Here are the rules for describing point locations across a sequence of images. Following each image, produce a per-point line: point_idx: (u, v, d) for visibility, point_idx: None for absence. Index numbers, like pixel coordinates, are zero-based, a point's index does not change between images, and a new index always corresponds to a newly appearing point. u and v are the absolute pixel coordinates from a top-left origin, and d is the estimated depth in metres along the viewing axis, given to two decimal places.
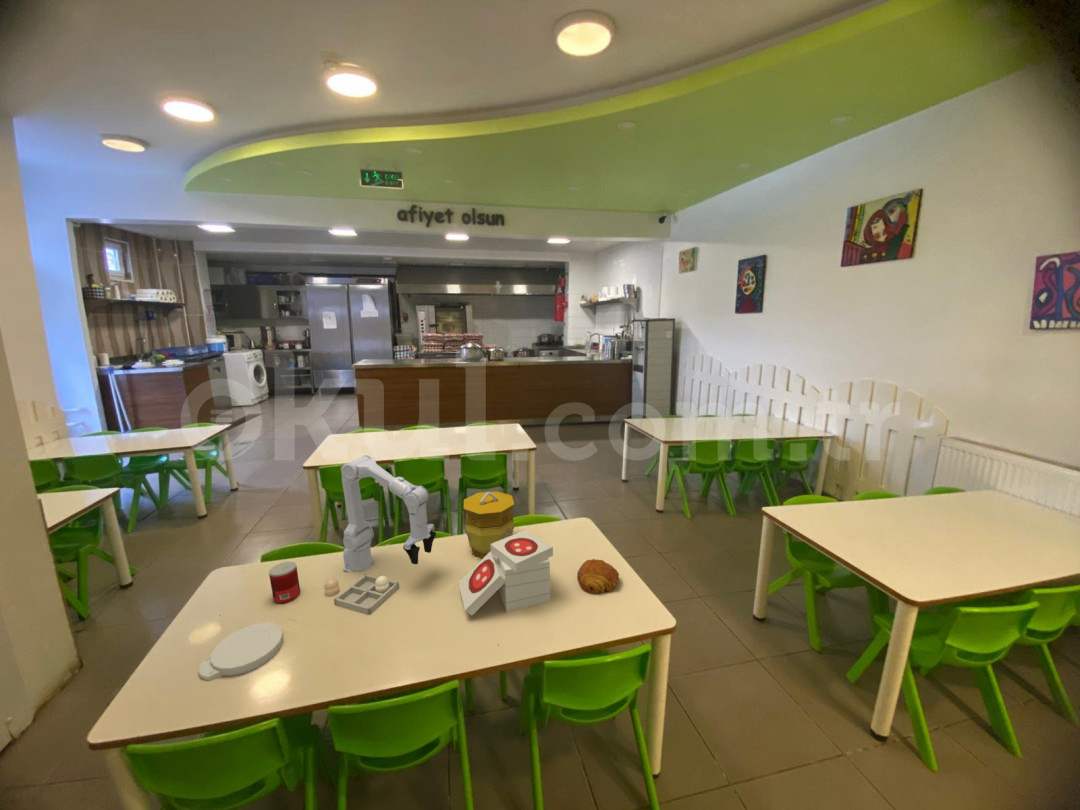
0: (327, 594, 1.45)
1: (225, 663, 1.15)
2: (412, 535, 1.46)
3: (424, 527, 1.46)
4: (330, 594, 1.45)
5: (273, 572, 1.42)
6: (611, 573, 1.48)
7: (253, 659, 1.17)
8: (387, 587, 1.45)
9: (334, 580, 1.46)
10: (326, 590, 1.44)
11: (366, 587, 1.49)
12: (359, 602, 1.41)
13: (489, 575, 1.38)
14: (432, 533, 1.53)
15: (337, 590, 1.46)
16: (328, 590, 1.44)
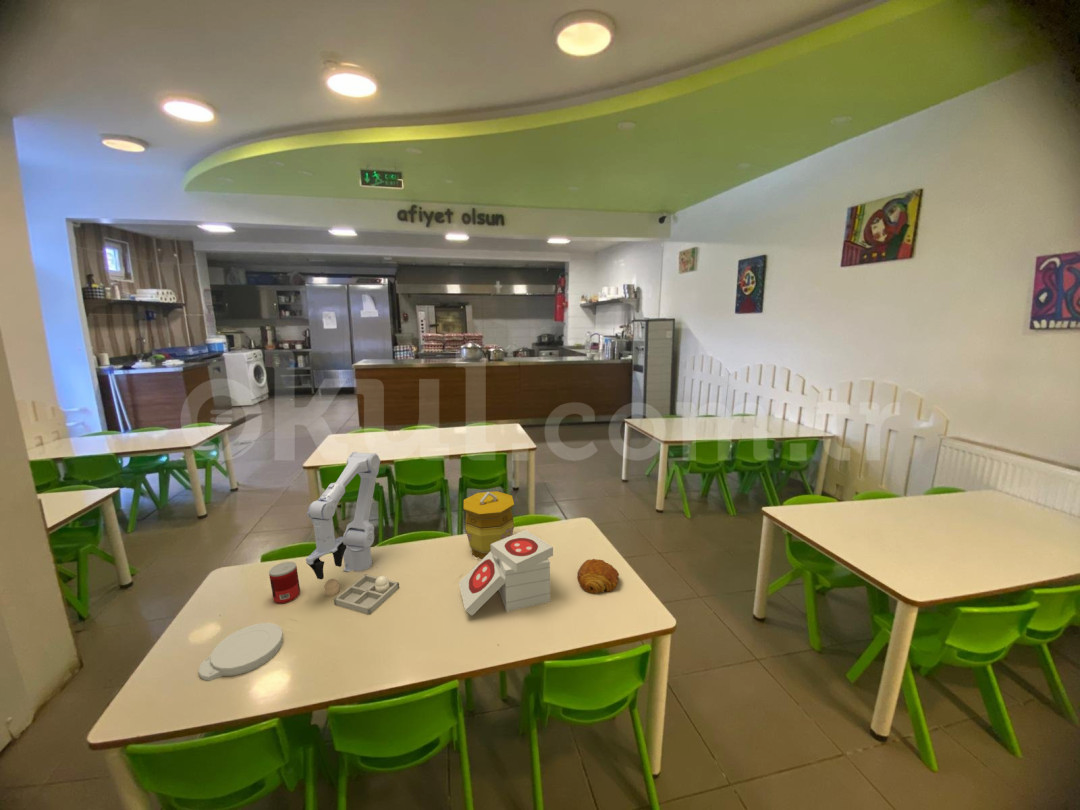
0: (327, 594, 1.45)
1: (225, 663, 1.15)
2: (317, 549, 1.41)
3: (329, 541, 1.41)
4: (330, 594, 1.45)
5: (273, 572, 1.42)
6: (611, 573, 1.48)
7: (253, 659, 1.17)
8: (387, 587, 1.45)
9: (334, 580, 1.46)
10: (326, 590, 1.44)
11: (366, 587, 1.49)
12: (359, 602, 1.41)
13: (489, 575, 1.38)
14: (342, 546, 1.47)
15: (337, 590, 1.46)
16: (328, 590, 1.44)
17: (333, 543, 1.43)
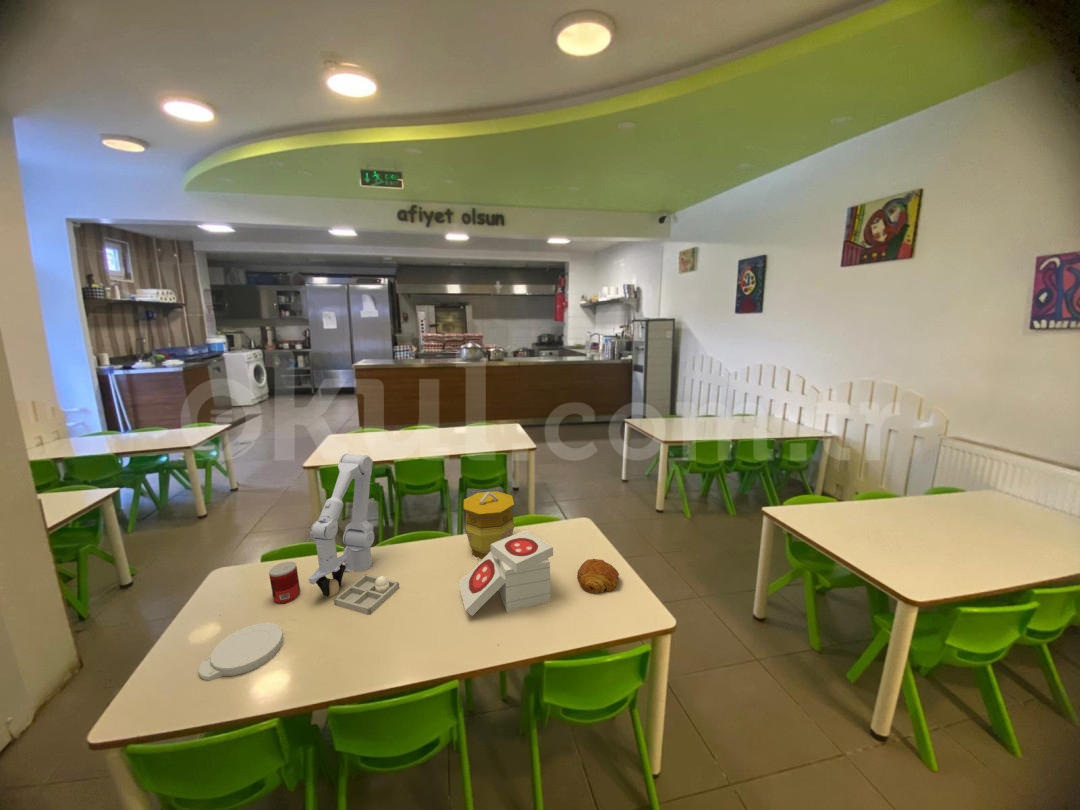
0: None
1: (225, 663, 1.15)
2: (320, 568, 1.43)
3: (332, 560, 1.42)
4: (330, 594, 1.45)
5: (273, 572, 1.42)
6: (611, 573, 1.48)
7: (253, 659, 1.17)
8: (387, 587, 1.45)
9: (334, 580, 1.46)
10: None
11: (366, 587, 1.49)
12: (359, 602, 1.41)
13: (489, 575, 1.38)
14: (344, 565, 1.49)
15: (337, 590, 1.46)
16: None
17: (335, 562, 1.44)
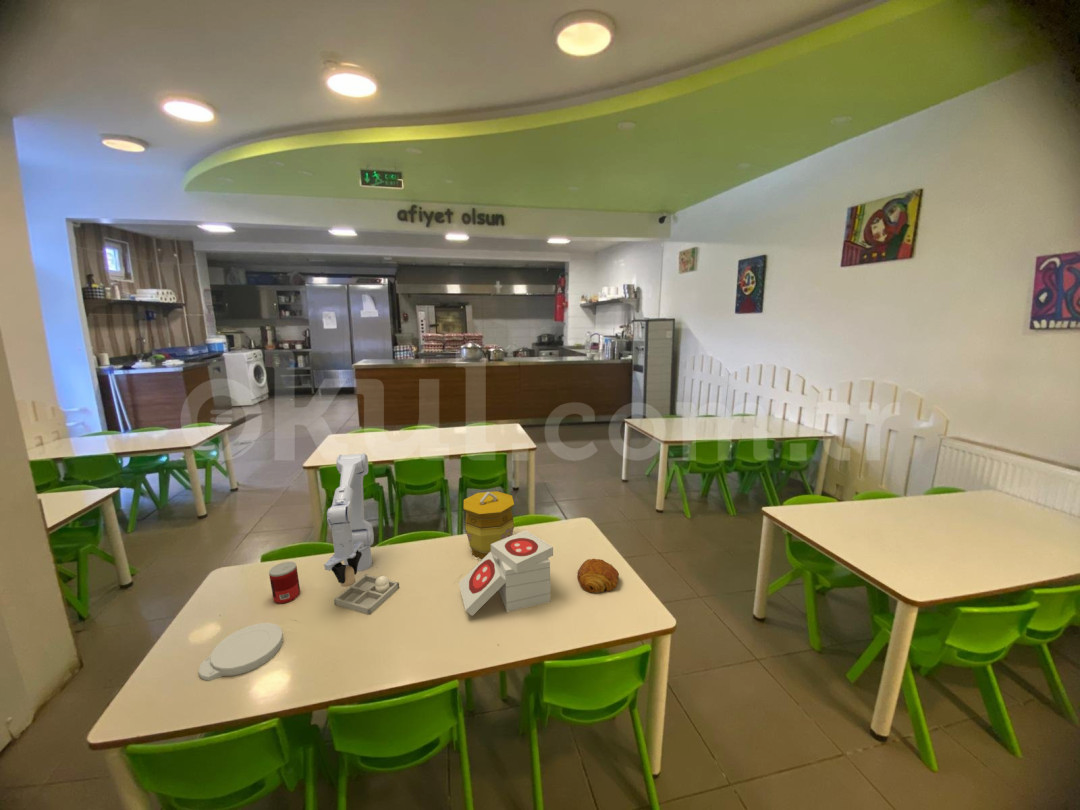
0: None
1: (225, 663, 1.15)
2: (335, 554, 1.37)
3: (348, 546, 1.37)
4: (345, 581, 1.39)
5: (273, 572, 1.42)
6: (611, 573, 1.48)
7: (253, 659, 1.17)
8: (387, 587, 1.45)
9: (350, 567, 1.41)
10: None
11: (366, 587, 1.49)
12: (359, 602, 1.41)
13: (489, 576, 1.38)
14: (360, 552, 1.44)
15: (353, 577, 1.41)
16: None
17: (351, 548, 1.39)
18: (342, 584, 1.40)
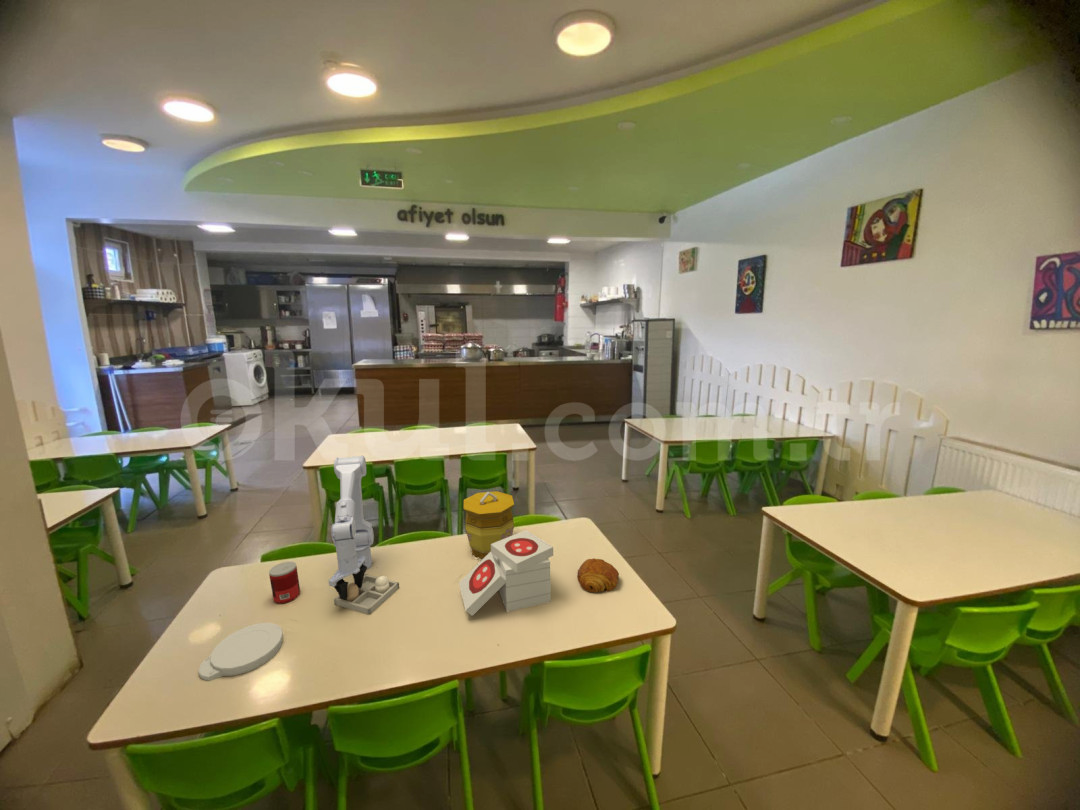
0: (347, 599, 1.40)
1: (225, 663, 1.15)
2: (339, 570, 1.38)
3: (352, 562, 1.38)
4: (350, 599, 1.40)
5: (273, 572, 1.42)
6: (611, 573, 1.48)
7: (253, 659, 1.17)
8: (387, 587, 1.45)
9: (354, 585, 1.42)
10: None
11: (366, 587, 1.49)
12: (359, 602, 1.41)
13: (489, 576, 1.38)
14: (364, 566, 1.44)
15: (357, 595, 1.42)
16: (347, 595, 1.40)
17: (355, 564, 1.39)
18: None
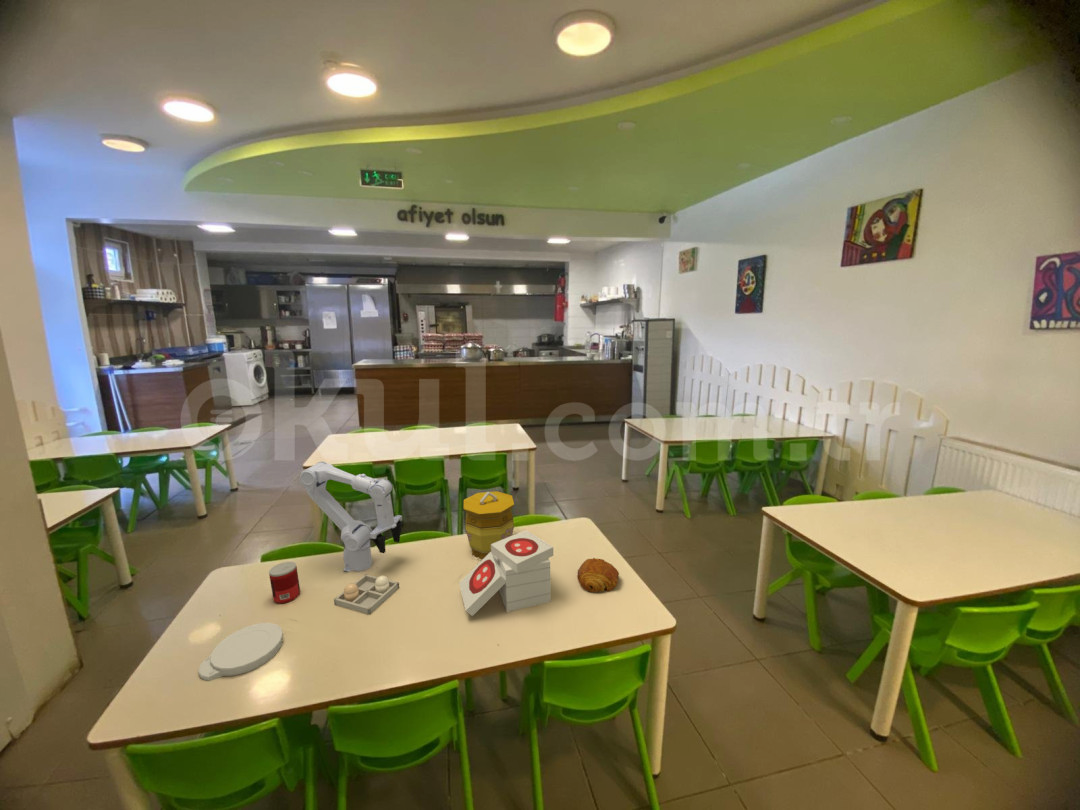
0: (347, 599, 1.40)
1: (225, 663, 1.15)
2: (379, 525, 1.55)
3: (389, 518, 1.55)
4: (350, 599, 1.40)
5: (273, 572, 1.42)
6: (611, 572, 1.49)
7: (253, 659, 1.17)
8: (387, 587, 1.45)
9: (354, 585, 1.42)
10: (346, 595, 1.40)
11: (366, 587, 1.49)
12: (359, 602, 1.41)
13: (489, 576, 1.37)
14: (399, 523, 1.61)
15: (357, 595, 1.42)
16: (347, 595, 1.40)
17: (392, 520, 1.56)
18: None
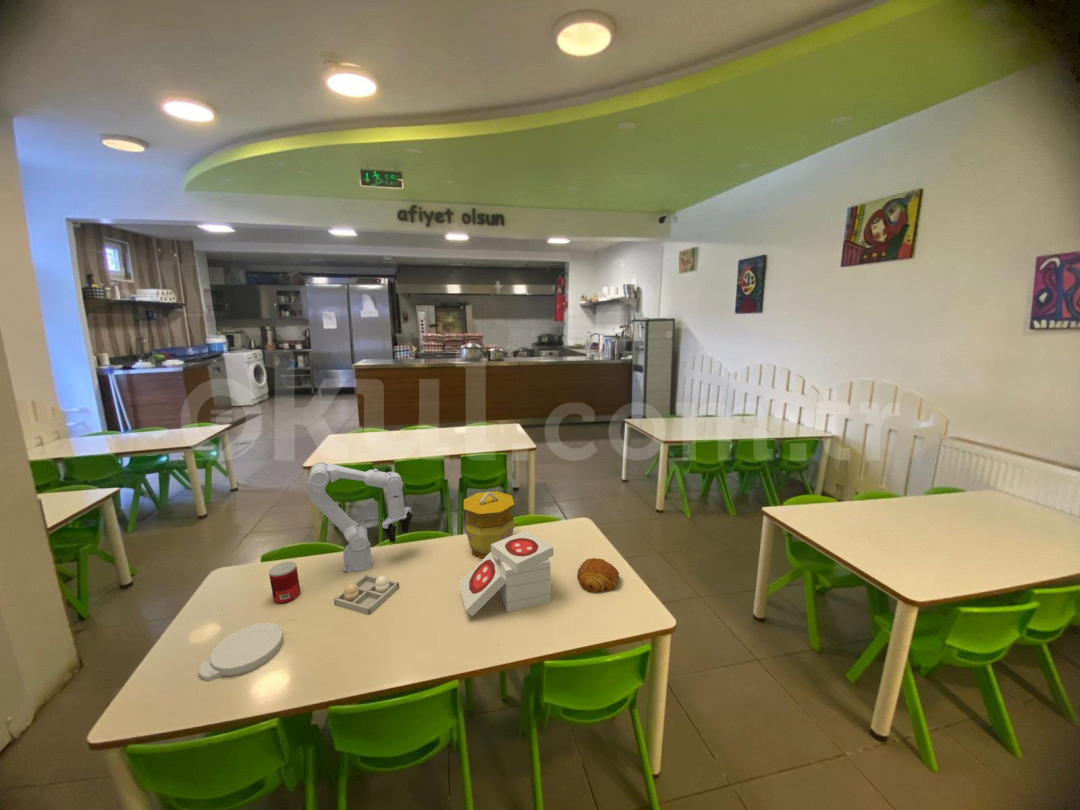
0: (347, 599, 1.40)
1: (225, 663, 1.15)
2: (390, 516, 1.62)
3: (400, 509, 1.62)
4: (350, 599, 1.40)
5: (273, 572, 1.42)
6: (611, 572, 1.49)
7: (253, 659, 1.17)
8: (387, 587, 1.45)
9: (354, 585, 1.42)
10: (346, 595, 1.40)
11: (366, 587, 1.49)
12: (359, 602, 1.41)
13: (490, 576, 1.37)
14: (409, 515, 1.68)
15: (357, 595, 1.42)
16: (347, 595, 1.40)
17: (403, 511, 1.63)
18: None
